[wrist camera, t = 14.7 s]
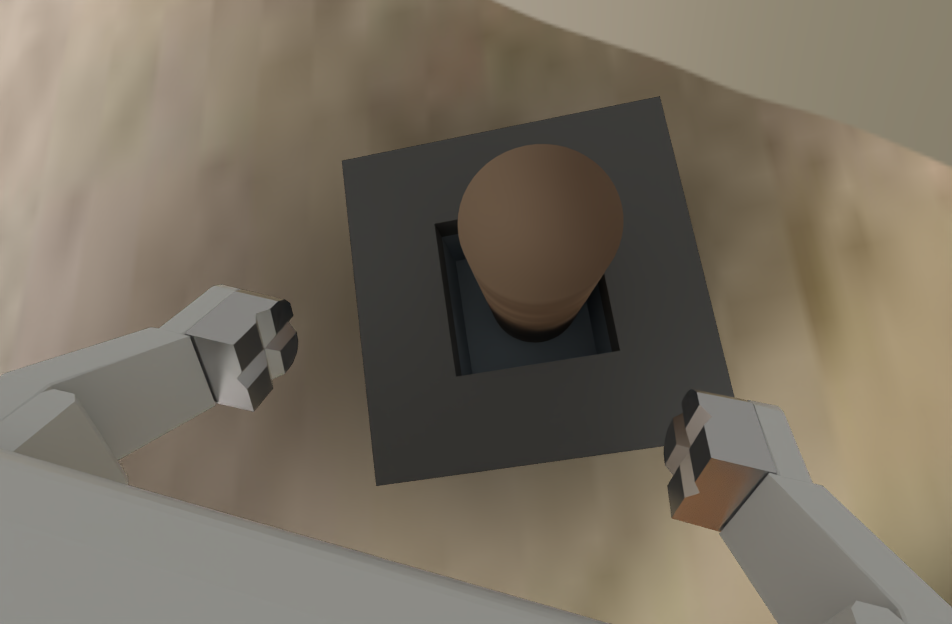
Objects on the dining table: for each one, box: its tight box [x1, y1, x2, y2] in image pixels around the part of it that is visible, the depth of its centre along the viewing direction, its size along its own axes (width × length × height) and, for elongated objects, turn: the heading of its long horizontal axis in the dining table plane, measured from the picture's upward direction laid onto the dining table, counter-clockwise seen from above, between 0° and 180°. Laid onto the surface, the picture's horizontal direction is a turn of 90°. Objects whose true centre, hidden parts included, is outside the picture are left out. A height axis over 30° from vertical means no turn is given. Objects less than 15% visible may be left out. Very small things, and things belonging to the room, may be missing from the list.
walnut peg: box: [458, 144, 623, 343], centre depth 16 cm, size 4×4×10 cm
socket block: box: [342, 96, 734, 486], centre depth 19 cm, size 12×12×6 cm
